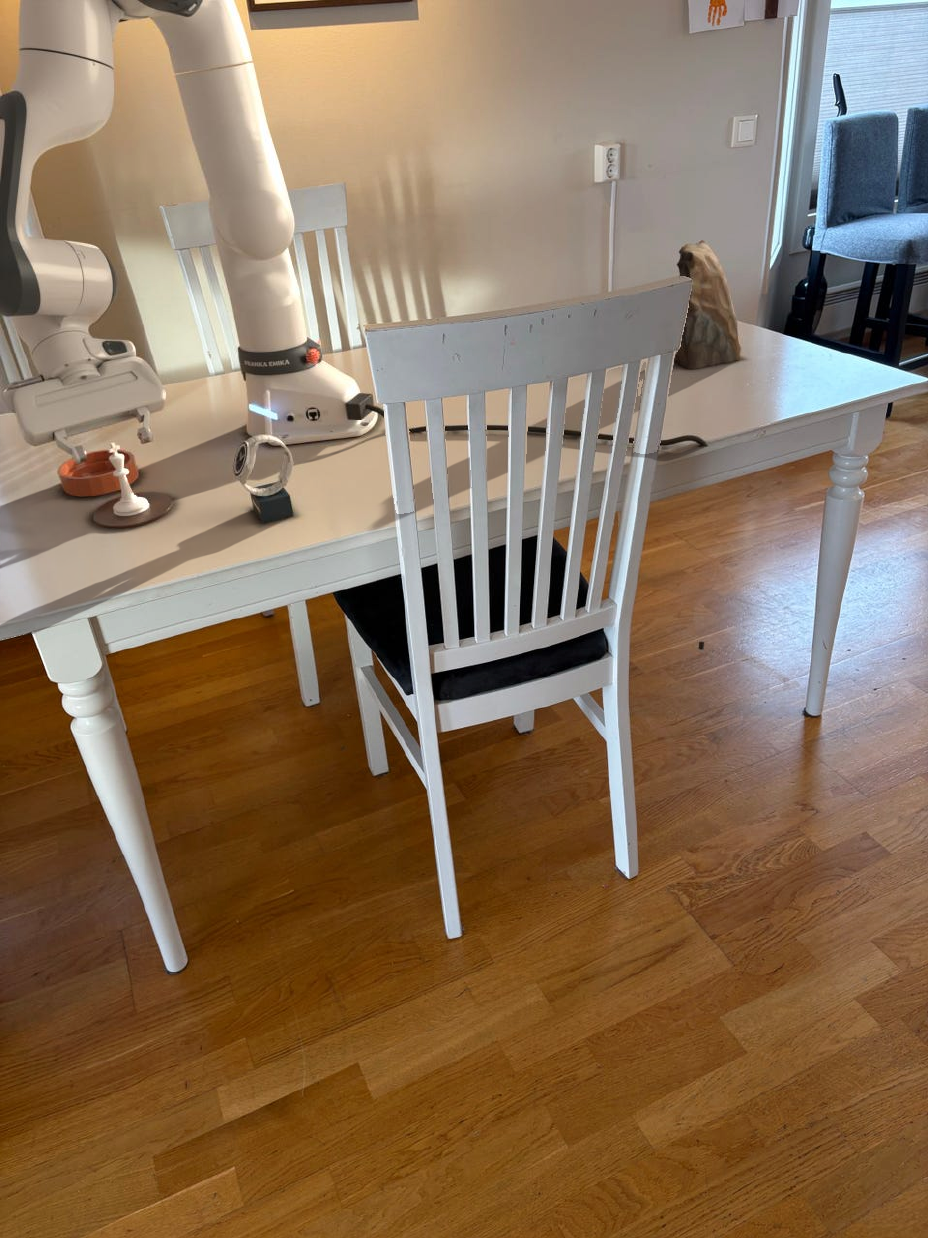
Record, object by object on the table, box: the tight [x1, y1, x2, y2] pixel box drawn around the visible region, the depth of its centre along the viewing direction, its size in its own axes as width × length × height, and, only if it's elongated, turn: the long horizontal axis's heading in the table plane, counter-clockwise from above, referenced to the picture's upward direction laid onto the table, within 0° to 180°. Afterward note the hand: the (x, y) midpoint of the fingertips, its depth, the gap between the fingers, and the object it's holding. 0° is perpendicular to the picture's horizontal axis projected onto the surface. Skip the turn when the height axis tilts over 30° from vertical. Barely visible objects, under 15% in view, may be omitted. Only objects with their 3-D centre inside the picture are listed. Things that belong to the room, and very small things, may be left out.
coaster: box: [92, 491, 174, 530], centre depth 130 cm, size 11×11×1 cm
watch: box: [232, 435, 295, 524], centre depth 123 cm, size 6×8×11 cm
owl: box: [674, 239, 743, 370], centre depth 166 cm, size 13×13×20 cm
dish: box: [56, 449, 140, 497], centre depth 138 cm, size 11×11×3 cm
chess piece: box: [107, 442, 149, 516], centre depth 127 cm, size 5×5×10 cm
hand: (115, 450), depth 126 cm, fingers open, 8 cm apart
